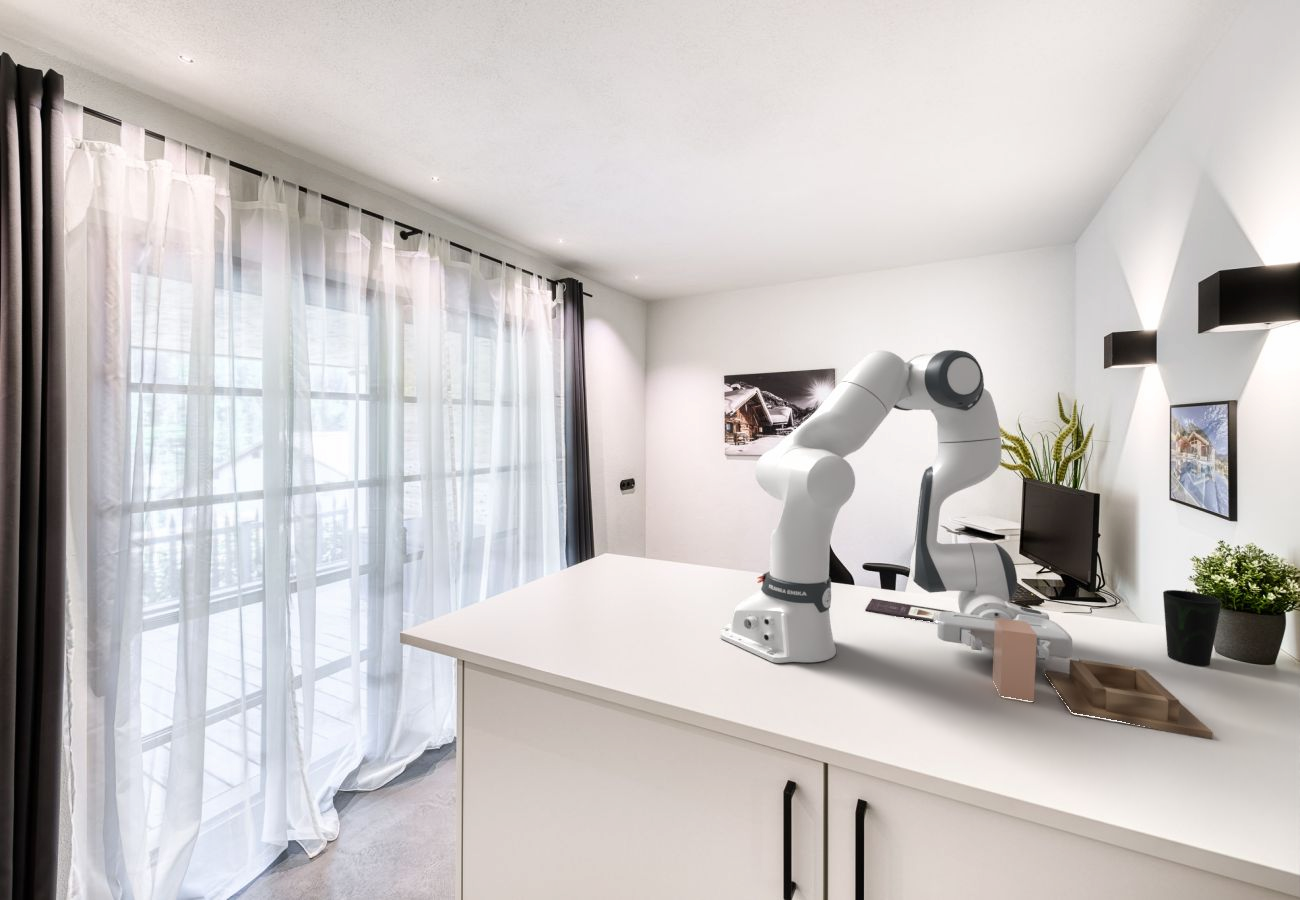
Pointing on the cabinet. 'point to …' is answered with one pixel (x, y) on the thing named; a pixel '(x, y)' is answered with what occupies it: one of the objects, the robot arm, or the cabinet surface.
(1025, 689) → the peach rectangular block
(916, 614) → the chocolate bar
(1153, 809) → the cabinet surface
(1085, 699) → the wooden tray with base
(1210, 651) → the cup
